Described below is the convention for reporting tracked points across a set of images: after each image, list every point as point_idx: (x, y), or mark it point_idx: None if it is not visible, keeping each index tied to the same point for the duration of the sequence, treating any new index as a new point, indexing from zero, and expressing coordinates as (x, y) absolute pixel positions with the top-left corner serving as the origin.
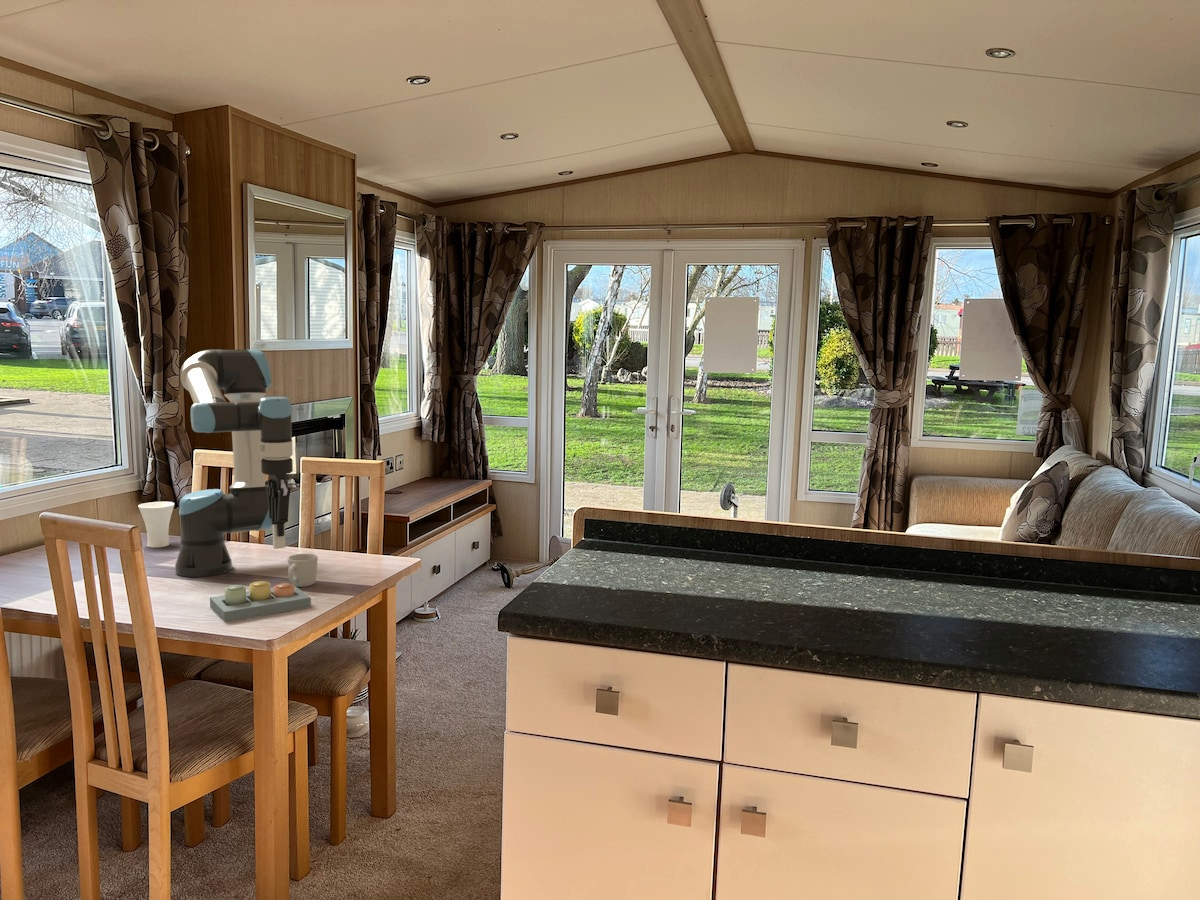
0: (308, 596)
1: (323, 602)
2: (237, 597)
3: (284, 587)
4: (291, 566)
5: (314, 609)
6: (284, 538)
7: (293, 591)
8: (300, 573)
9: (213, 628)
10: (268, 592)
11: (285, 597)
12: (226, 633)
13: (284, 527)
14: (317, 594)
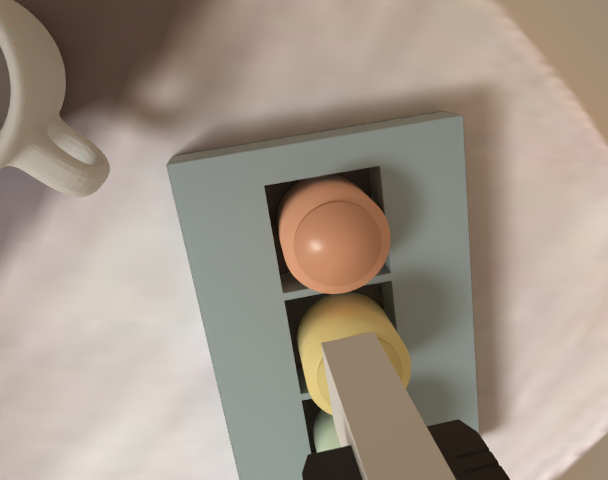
0: (439, 122)
1: (392, 33)
2: None
3: (380, 247)
4: (61, 178)
5: (481, 100)
6: (402, 387)
7: (360, 190)
8: (50, 106)
9: (510, 472)
10: (387, 319)
11: (402, 233)
12: (585, 436)
13: (447, 473)
14: (232, 33)
